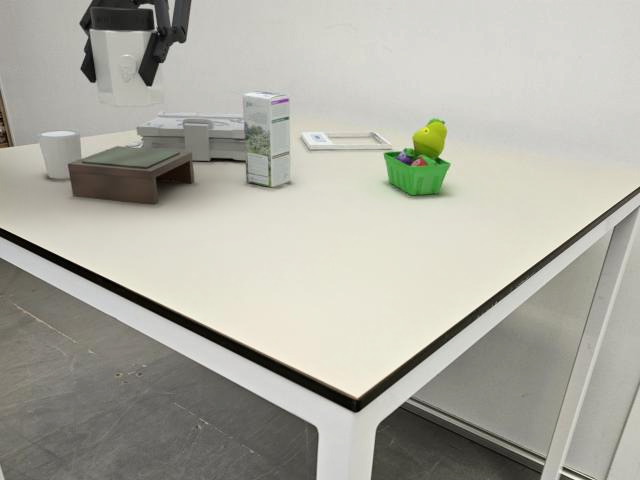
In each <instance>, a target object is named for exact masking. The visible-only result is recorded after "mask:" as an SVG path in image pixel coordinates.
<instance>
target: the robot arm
mask: <svg viewBox="0 0 640 480" xmlns="http://www.w3.org/2000/svg"><path fill="white" fill-rule="evenodd" d="M192 1H193V0H174V5H173V12H172V13H173V14H172V19H171V18H170V5H169V0H91V2H90V3H89V5H88V7H87V9H86V11H85V12H84V14H83V16H82V17H81V19H80V21H79V26H80V27H81V29H82V31H83V32H84V33H85V35H86V36H87V40H86V42H85V45H84V48H83V52H84V54H85V55H84V58H83V60H82V63H81V66H80V68H79V69H80V71H81V72H82V74H83V75H84V76H85V78H86V80H88V81H89V83H90V84H97V81H96V74H95V66H94V59H93V52H92V45H91V37H90V29H93V27H92V20H91V12H90V8H91V7H119V8H140V7H141V6H142V5H147V4H148V5H151V6H154V13H155V20H156V26H155V30H157V31H158V33H159V36H158V35H157V33H151V36H150V39H149V42H148V45H147V48H146V50H145V53H144V56H143V59H142V62H141V65H140V67H139V70H138V74H139V75H140V77H141V78H142V80H143V81H144V83H145V84H146V86H149V87H152V84H153V81H154V78H155V75H156V72H157V69H158V66H159V63H161V64H164V63H165V62H166V59H167V57H168V54H169V51H170V48H171V47H172V46H173V45H174V43H179V44H181V45H182V44H184V43H186V42H187V40H188V39H187V38H188V32H189V23H190V17H191V16H190V14H191V7H192Z"/></svg>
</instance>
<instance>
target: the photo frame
mask: <svg viewBox="0 0 640 480" xmlns="http://www.w3.org/2000/svg"><path fill="white" fill-rule="evenodd" d="M330 137H331V138H333V137H334V138H335V137H336V138H337V137H339V138H340V137H345V138H346V137H349V138H350V137H374V139H376V140H377V141H378V142H380V143H337V144H336V143H335V144H334V142H333V141H332V140H331V139H330ZM300 138H301V140H302V141H303V142H304V144H305V145H306V146H307V148H308V150H309V151H310V150H389V149H390V150H392V148H393V144H392V143H391V142H390V141H388V140H387V139H386V138H384V137H383V136H382V135H381V134H379V133H378V132H377V131H300Z"/></svg>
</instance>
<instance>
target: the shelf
mask: <svg viewBox="0 0 640 480" xmlns="http://www.w3.org/2000/svg"><path fill="white" fill-rule="evenodd" d="M68 169H69V175H70V178H69V181H70V187H71V192H72V196H73V197H81V198H89V199H99V200H109V201H118V202H129V203H137V204H148V205H156V204H158V203H159V195H158V188H157V187H158V186H157V181H158V182H159V181H161V182H171V183H181V184H193V183H195V173H194V160H192V152H182V151H170V150H158V149H146V148H140V147H125V146H122V145H116V146H114V147H111V148H108V149H105V150H102V151H100V152H97V153H94V154H91V155H88V156H85V157H83V158H82V159H80V160H77V161H74V162H71V163H69V164H68Z"/></svg>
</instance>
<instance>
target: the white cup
mask: <svg viewBox="0 0 640 480" xmlns="http://www.w3.org/2000/svg"><path fill="white" fill-rule="evenodd" d="M36 138H37V141H38V144H39V148H40V151H41V154H42V159H43V161H44V165H45V169H46V173H47V176H48V177H49V178H51V179H57V180H60V179H61V180H63V179H70V175H69V169H68V164H69V163H71V162H74V161H77V160H80V159H83V158H82V143H81V133H80V132H79V131H76V130H66V129H63V130H62V129H60V130H57V129H56V130H47V131H42V132H38V133H37V134H36Z"/></svg>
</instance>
